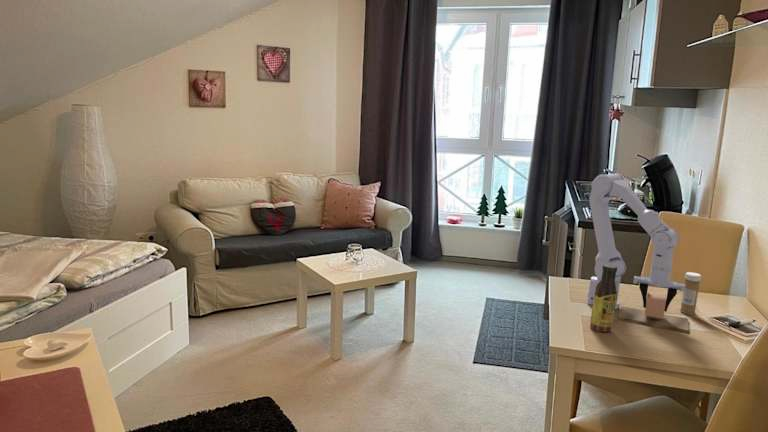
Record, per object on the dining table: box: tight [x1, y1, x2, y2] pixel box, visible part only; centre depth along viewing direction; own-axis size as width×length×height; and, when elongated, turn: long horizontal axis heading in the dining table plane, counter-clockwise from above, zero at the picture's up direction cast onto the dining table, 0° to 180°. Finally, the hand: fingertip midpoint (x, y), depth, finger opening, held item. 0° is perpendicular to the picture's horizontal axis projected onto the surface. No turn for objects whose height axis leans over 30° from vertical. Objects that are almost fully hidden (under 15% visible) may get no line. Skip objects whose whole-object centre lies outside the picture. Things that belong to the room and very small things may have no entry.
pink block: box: [644, 291, 667, 319], centre depth 187 cm, size 5×5×6 cm
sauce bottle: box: [589, 264, 617, 333], centre depth 176 cm, size 6×6×20 cm
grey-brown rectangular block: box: [617, 305, 690, 334], centre depth 187 cm, size 20×11×6 cm, turn 64°
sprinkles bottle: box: [679, 271, 702, 316], centre depth 195 cm, size 5×5×13 cm
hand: (654, 308), depth 187 cm, fingers closed on pink block, 5 cm apart
